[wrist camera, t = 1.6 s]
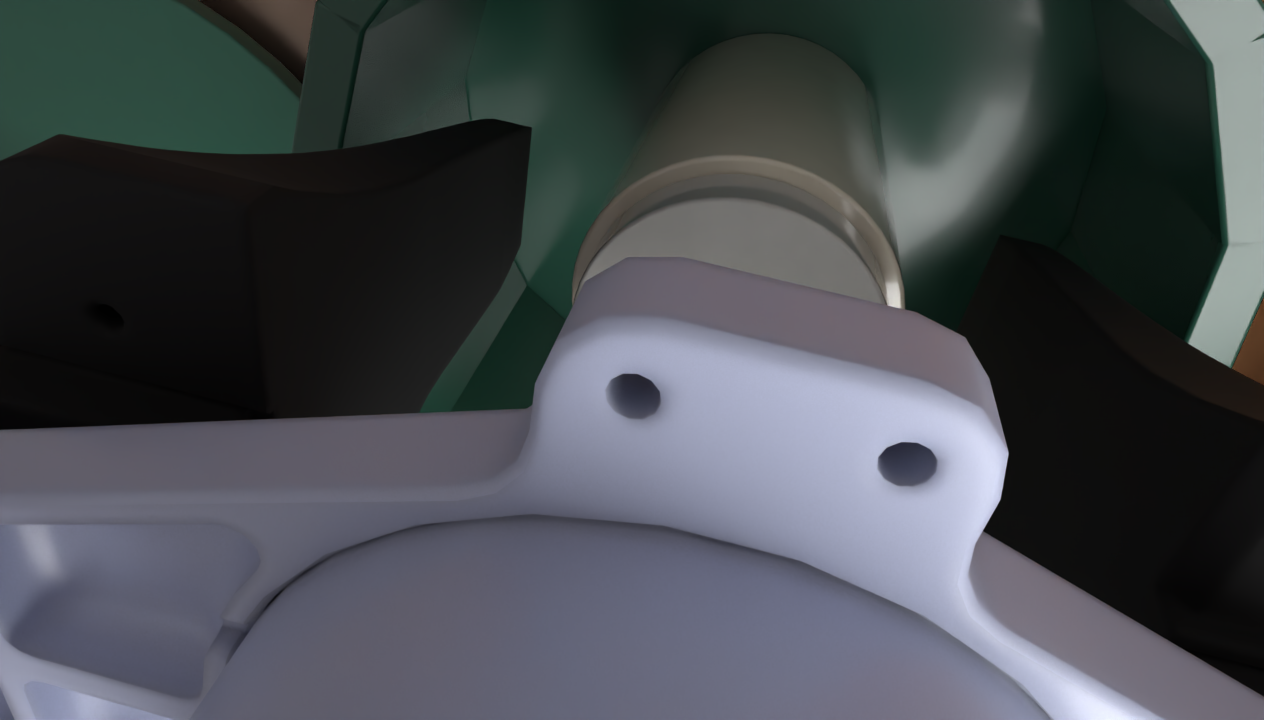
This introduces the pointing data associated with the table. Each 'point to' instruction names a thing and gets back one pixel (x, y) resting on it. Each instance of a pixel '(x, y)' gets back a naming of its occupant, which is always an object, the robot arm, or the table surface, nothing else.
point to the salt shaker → (758, 174)
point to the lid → (140, 78)
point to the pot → (911, 129)
